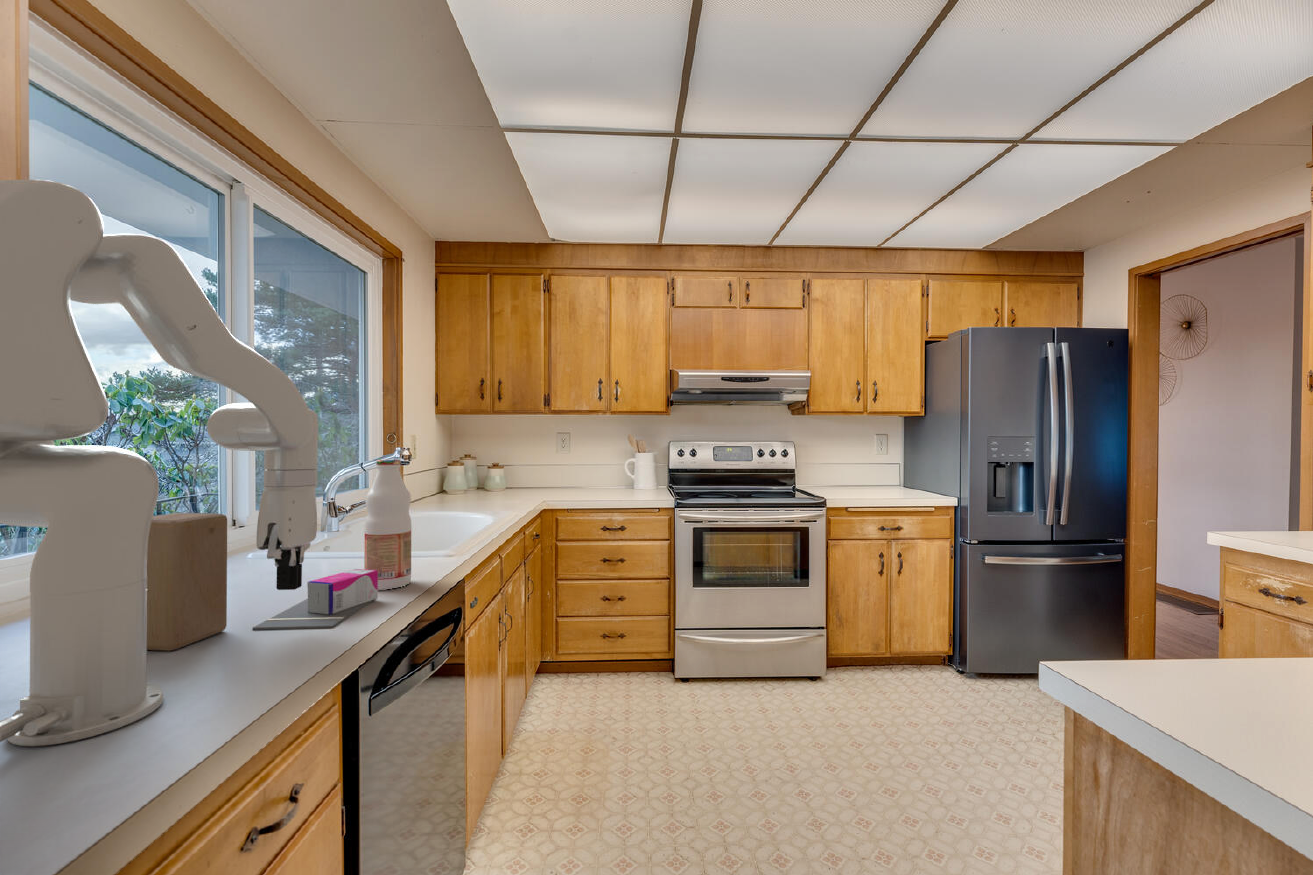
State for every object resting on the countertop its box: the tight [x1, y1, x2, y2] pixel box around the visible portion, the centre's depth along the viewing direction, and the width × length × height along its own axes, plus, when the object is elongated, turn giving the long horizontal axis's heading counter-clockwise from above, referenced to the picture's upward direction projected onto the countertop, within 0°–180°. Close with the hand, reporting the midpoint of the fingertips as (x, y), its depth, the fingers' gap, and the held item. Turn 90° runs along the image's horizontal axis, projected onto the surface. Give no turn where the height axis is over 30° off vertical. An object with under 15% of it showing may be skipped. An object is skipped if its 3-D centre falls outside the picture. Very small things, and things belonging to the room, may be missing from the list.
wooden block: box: [147, 512, 228, 652], centre depth 89 cm, size 10×10×20 cm
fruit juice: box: [363, 459, 413, 591], centre depth 123 cm, size 9×9×28 cm
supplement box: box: [307, 568, 379, 615], centre depth 107 cm, size 6×6×12 cm
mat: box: [252, 598, 373, 631], centre depth 104 cm, size 18×13×1 cm
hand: (289, 588), depth 94 cm, fingers closed
